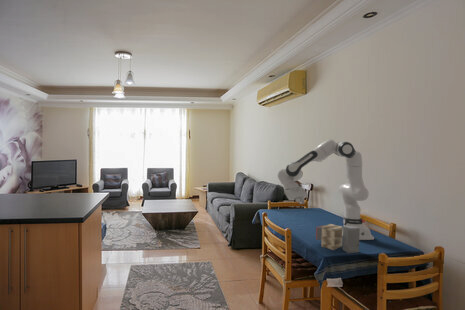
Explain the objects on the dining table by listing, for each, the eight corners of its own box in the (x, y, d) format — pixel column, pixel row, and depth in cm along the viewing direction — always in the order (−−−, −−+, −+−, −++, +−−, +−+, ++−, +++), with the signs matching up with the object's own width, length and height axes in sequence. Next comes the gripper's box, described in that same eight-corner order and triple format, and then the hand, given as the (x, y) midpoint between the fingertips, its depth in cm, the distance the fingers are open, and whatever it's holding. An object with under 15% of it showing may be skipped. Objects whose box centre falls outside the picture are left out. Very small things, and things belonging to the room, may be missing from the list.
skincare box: (348, 253, 191) (348, 228, 190) (341, 249, 198) (342, 225, 197) (359, 252, 193) (360, 228, 192) (352, 248, 200) (353, 225, 199)
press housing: (321, 246, 203) (321, 226, 202) (329, 243, 210) (330, 223, 210) (333, 250, 196) (334, 229, 196) (341, 246, 204) (342, 226, 203)
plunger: (315, 239, 207) (316, 227, 207) (322, 236, 213) (322, 225, 213) (323, 241, 203) (324, 229, 203) (330, 239, 209) (330, 227, 208)
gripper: (286, 186, 218) (296, 202, 211) (302, 184, 232) (313, 199, 225) (280, 191, 221) (291, 207, 215) (297, 189, 235) (307, 204, 229)
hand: (302, 203), depth 220 cm, fingers closed
